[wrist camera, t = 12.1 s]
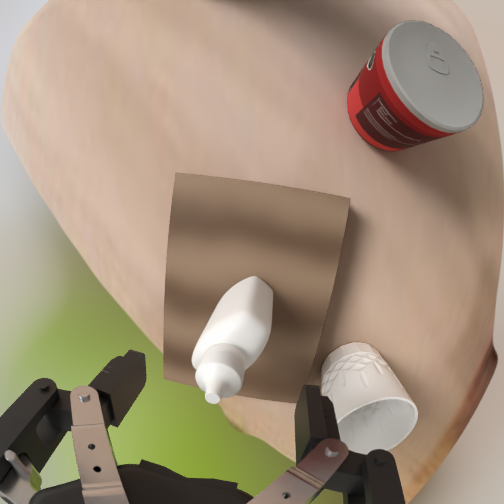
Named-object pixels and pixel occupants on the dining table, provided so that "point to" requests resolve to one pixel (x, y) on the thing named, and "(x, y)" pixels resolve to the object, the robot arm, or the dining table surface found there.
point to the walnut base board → (251, 272)
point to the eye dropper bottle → (233, 338)
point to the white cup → (367, 399)
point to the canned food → (415, 89)
